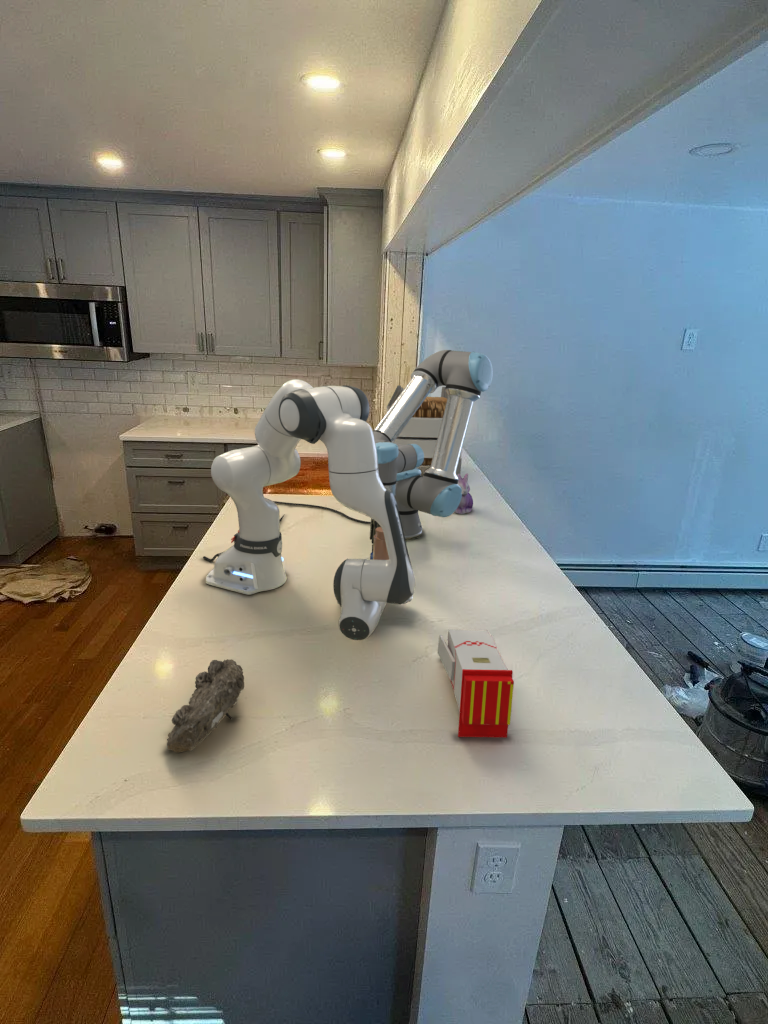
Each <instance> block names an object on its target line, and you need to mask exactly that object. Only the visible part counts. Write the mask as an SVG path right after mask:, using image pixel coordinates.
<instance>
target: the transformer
mask: <svg viewBox="0 0 768 1024" xmlns="http://www.w3.org/2000/svg"><path fill="white" fill-rule="evenodd" d="M445 388H446V386H441V392H440V393H441V394H440V396H427V397H426V399H425V400H424V401H423V403H422V404H421V405H420V407H419V408H418V410H417V411H416V412H415V414H414V415H413V416H412V418H411V419H410V421H409V422H408V423H407V425H406V426H405V427H404V429H403V430H402V432H401V433H400V434H399V436H398V437H397V438H396V440H395V441H394V443H397V444H401V445H407V444H417V445H418V446H420V447H421V448H422V450H423V452H424V461H423V463H422V465H421V466H420V467H430V466H431V462H432V458H433V454H434V450H435V446H436V442H437V439H438V435H439V431H440V427H441V423H442V419H443V415H444V411H445V407H446V403H447V399H448V394H447V393H446V391H445ZM403 390H404V388H403V387H402V385H399V384H398V385H397V386H396V388H395V390H394V392H393V394H392V395H391V398H390V400H389V402H388V404H387V405H386V412H385V414H386V413H387V411H388V410H389V409H390V407H391V406H392V405H393V403H394V402H395V401H396V399H397V398H398V396H399V395H400V394H401V392H402V391H403ZM462 453H463V449H462V450H461V454H460V458H459V462H458V466H457V470H456V475H458V474H460V475H461V472H462V461H463V460H462Z"/></svg>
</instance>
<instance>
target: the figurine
mask: <svg viewBox="0 0 768 1024" xmlns="http://www.w3.org/2000/svg"><path fill="white" fill-rule="evenodd" d="M457 477H458V479H459V480H458V485H459V486H460V487H461V489H462V492H461V493H462V498H461V501H460V504H459V506H458V507H457V509H456V510H455V512H454V513H455V514H460V515H464V514H469V513H471V512H472V511H473V507H474V499H473V496H472V495H471V493H470V491H471V487H470V484H469V482H468V480H469V473H465V474H464V476H463V477H462V475H461V474H458V475H457Z"/></svg>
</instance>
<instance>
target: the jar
mask: <svg viewBox="0 0 768 1024" xmlns="http://www.w3.org/2000/svg"><path fill="white" fill-rule="evenodd" d="M375 530H376V534H375V535H374V545H373V544H372V545H373V560H389V555H388V551H387V546H386V542H385V537H384V533H383V530H382V528H381V527H377V528H376V529H375Z"/></svg>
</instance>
